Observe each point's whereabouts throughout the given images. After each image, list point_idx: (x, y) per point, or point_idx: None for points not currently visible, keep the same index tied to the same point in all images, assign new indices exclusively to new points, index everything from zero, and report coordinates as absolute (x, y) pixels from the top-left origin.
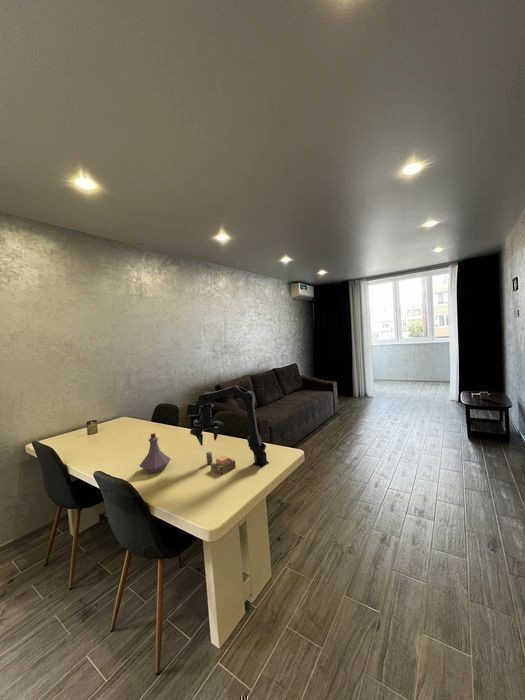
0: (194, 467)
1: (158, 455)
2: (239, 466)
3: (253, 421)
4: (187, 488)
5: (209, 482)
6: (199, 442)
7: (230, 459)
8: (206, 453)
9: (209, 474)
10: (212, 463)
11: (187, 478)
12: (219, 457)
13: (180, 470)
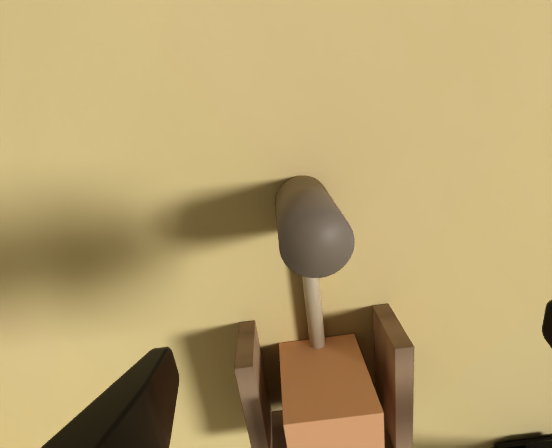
0: (149, 160)
1: None
2: (420, 408)
3: None
4: (9, 414)
5: None
6: (94, 408)
7: (402, 428)
8: (283, 232)
9: (202, 363)
10: (245, 388)
11: (36, 303)
12: (325, 425)
13: (3, 107)
